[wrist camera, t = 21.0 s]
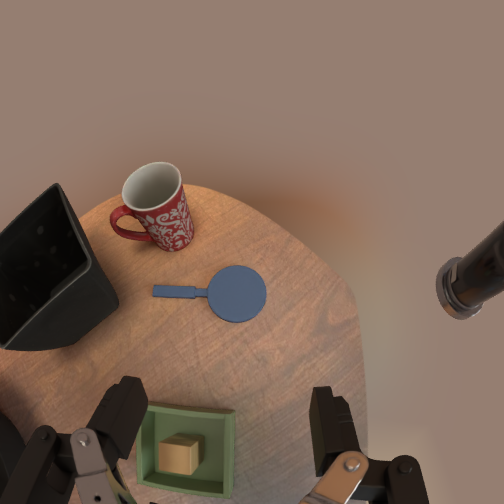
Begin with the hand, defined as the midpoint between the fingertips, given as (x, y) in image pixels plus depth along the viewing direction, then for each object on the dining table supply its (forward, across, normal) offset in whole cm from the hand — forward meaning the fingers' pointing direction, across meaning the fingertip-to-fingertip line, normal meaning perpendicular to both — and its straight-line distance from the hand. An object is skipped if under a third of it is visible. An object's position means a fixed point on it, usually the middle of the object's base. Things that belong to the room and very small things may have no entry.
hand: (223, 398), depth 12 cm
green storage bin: (+13, +9, +27) cm, 31 cm away
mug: (+37, +16, +3) cm, 41 cm away
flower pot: (+29, +31, +12) cm, 43 cm away
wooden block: (+12, +9, +27) cm, 31 cm away
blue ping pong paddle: (+30, +7, +10) cm, 32 cm away
